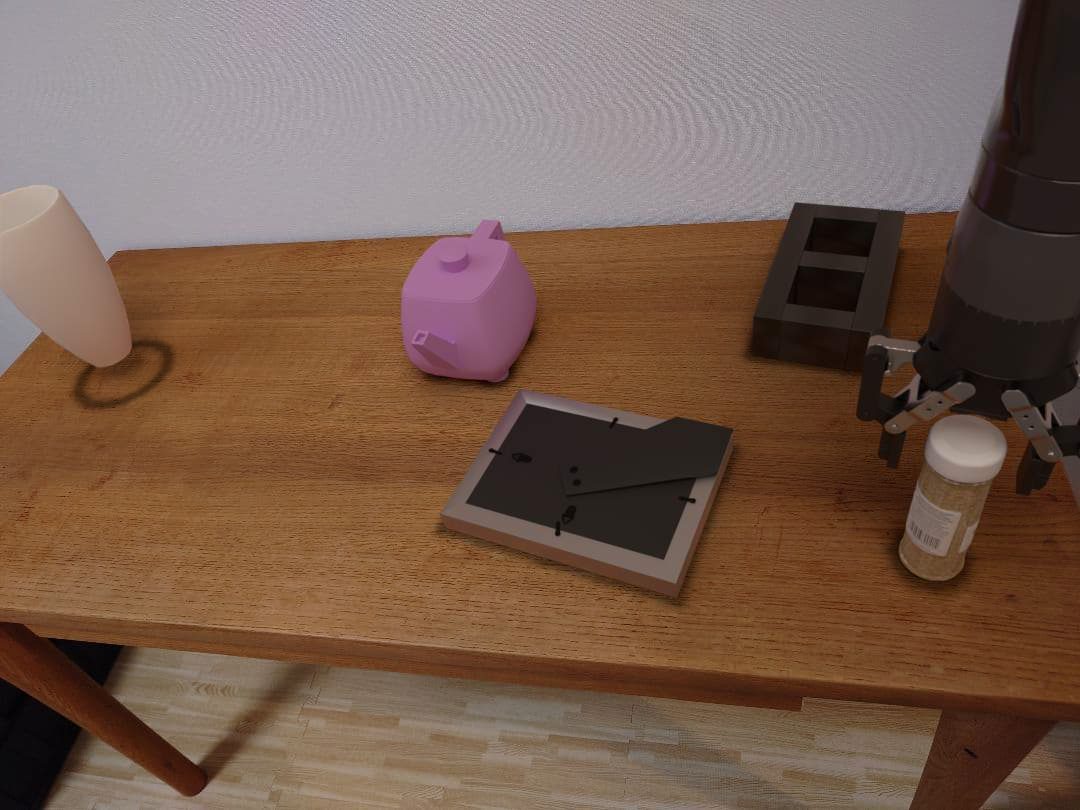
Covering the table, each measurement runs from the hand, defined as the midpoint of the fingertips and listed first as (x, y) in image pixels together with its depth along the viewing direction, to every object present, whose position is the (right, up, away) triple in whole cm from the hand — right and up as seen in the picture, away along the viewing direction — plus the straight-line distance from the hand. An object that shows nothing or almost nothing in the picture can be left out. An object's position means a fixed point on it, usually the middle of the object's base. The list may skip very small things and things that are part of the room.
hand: (956, 472), depth 53 cm
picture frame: (-23, -3, +17) cm, 29 cm away
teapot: (-34, +10, +32) cm, 48 cm away
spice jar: (+2, -7, +7) cm, 10 cm away
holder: (+2, +15, +29) cm, 33 cm away
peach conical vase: (-76, +8, +39) cm, 86 cm away
